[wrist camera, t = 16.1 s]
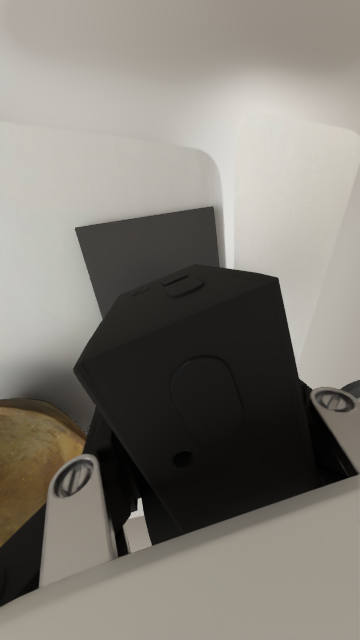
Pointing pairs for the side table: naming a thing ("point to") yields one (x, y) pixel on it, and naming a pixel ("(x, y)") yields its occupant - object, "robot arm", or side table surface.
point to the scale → (145, 250)
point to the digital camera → (202, 396)
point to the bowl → (31, 457)
